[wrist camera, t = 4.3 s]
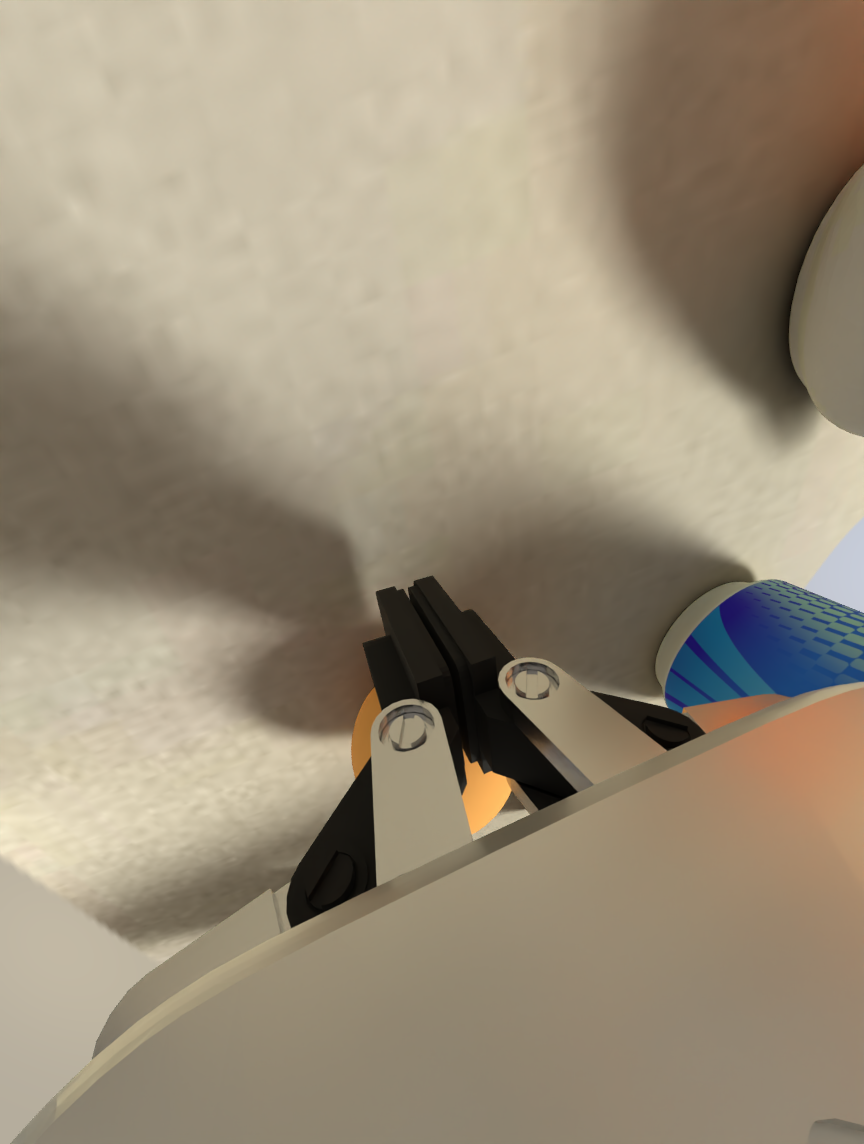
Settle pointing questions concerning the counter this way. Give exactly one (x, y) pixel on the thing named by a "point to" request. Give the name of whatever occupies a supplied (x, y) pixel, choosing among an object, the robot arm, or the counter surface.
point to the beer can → (759, 645)
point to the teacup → (833, 312)
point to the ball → (481, 789)
